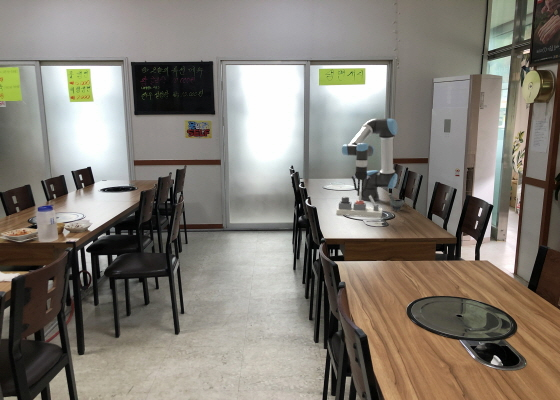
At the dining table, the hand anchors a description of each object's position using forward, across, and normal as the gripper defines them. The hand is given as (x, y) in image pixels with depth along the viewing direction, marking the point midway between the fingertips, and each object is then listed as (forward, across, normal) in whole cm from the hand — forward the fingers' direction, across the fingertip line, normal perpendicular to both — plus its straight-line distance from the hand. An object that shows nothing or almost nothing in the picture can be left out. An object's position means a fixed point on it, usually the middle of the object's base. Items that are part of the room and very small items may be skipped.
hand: (359, 200), depth 310 cm
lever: (+4, +11, 0) cm, 12 cm away
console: (+9, 0, 0) cm, 9 cm away
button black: (+4, -10, 0) cm, 11 cm away
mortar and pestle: (+9, +24, +19) cm, 32 cm away
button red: (+5, 0, 0) cm, 5 cm away
